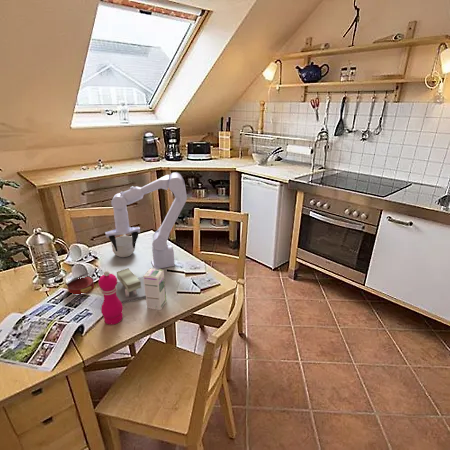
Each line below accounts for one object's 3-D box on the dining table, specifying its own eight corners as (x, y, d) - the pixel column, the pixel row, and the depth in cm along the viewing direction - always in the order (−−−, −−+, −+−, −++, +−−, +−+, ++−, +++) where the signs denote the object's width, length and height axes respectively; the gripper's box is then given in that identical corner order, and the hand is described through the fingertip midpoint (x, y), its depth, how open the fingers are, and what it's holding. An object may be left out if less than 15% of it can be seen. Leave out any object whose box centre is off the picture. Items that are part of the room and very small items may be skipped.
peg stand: (148, 277, 137) (147, 269, 136) (155, 295, 126) (155, 286, 124) (105, 286, 130) (103, 278, 129) (108, 306, 119) (107, 297, 117)
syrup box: (161, 310, 117) (158, 277, 111) (146, 308, 118) (142, 275, 112) (166, 301, 122) (164, 269, 116) (152, 299, 123) (149, 267, 117)
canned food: (74, 304, 127) (56, 289, 121) (78, 288, 135) (62, 273, 130) (98, 291, 126) (82, 275, 121) (101, 276, 135) (85, 260, 129)
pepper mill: (106, 312, 115) (98, 266, 107) (126, 312, 116) (119, 265, 108) (100, 326, 109) (91, 277, 101) (121, 325, 109) (114, 276, 101)
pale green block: (141, 287, 123) (140, 281, 122) (128, 292, 121) (128, 285, 119) (129, 274, 132) (128, 268, 131) (117, 278, 129) (116, 272, 128)
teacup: (132, 260, 151) (130, 245, 148) (109, 259, 151) (107, 244, 148) (139, 246, 164) (138, 232, 161) (119, 246, 164) (117, 232, 161)
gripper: (137, 215, 142) (139, 242, 148) (103, 220, 137) (107, 247, 142) (139, 221, 136) (142, 248, 142) (104, 226, 131) (109, 254, 136)
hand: (125, 248), depth 142 cm, fingers open, 7 cm apart
